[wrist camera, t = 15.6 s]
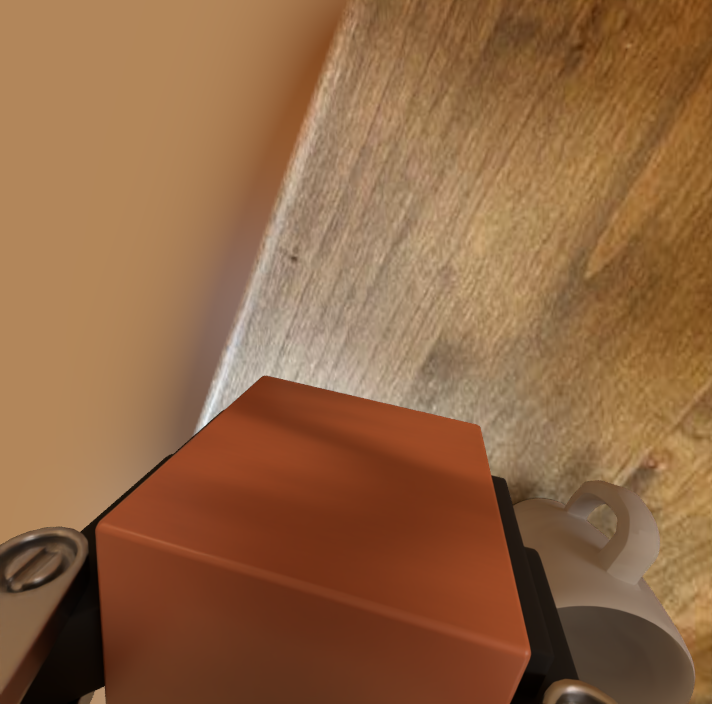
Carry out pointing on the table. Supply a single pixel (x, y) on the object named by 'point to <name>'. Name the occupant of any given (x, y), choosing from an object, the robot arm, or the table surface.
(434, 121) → the table surface
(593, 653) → the mug
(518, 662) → the block
